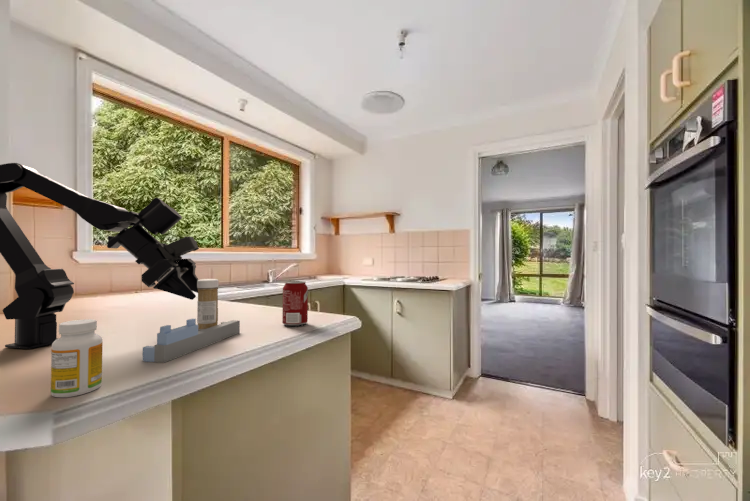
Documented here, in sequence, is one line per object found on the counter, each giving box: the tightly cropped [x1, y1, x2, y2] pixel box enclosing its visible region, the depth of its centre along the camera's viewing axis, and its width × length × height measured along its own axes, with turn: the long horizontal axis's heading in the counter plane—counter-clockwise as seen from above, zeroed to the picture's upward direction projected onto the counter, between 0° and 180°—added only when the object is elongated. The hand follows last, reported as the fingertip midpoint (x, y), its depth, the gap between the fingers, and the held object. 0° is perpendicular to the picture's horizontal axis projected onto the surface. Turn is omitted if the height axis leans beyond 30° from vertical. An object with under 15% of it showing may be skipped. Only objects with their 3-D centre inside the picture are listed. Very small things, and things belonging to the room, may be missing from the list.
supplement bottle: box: [50, 318, 103, 398], centre depth 46 cm, size 5×5×10 cm
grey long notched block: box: [141, 318, 241, 364], centre depth 70 cm, size 4×23×6 cm, turn 170°
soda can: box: [281, 280, 309, 327], centre depth 91 cm, size 7×7×12 cm
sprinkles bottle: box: [196, 278, 220, 330], centre depth 78 cm, size 5×5×14 cm
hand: (199, 295), depth 77 cm, fingers open, 9 cm apart
